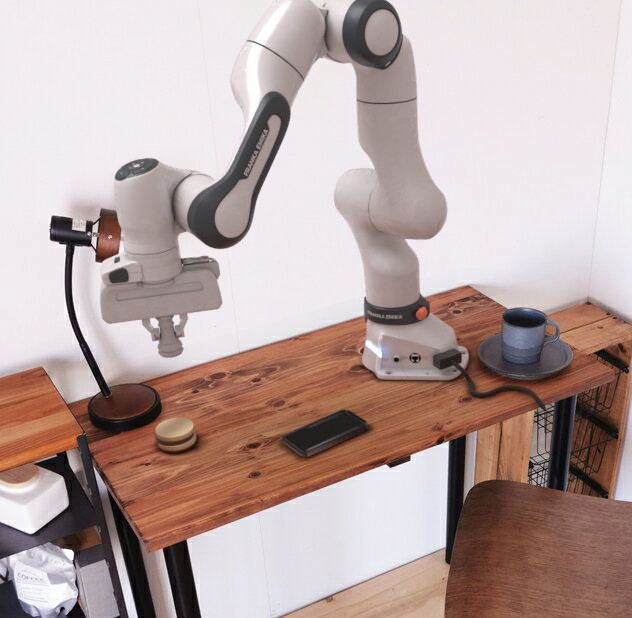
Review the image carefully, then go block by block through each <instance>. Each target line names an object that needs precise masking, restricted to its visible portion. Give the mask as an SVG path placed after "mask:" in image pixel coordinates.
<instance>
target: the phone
mask: <svg viewBox="0 0 632 618" xmlns="http://www.w3.org/2000/svg"><path fill="white" fill-rule="evenodd" d="M368 430H369V423H368V421H367V420H365V419H363V417H361V416H359V415H357V414H356V413H354V412H353V411H351V410H349V409H346V408H344V409H341V410H338V411H335V412H333V413H330V414H329V415H326V416H323V417H321V418H319V419H317V420H314V421H312V422H309V423H308V424H305V425H302V426H300V427H298V428H296V429H293V430H291V431H289V432H287V433H284V434H282V444H284V446H286V447H287V448H288V449H290V450H291V451H293V452H294V453H295V454H297V455H298V456H300V457H301V458H310V457H312V456H313V455H316V454H318V453H320V452H322V451H324V450H327V449H329V448H332V447H333V446H336V445H339V444H340V443H343V442H344V441H345V442H346V441H347V440H349V439H351V438H354V437H356V436H358V435H361V434H363V433H365V432H367V431H368Z"/></svg>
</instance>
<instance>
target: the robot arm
mask: <svg viewBox="0 0 632 618" xmlns="http://www.w3.org/2000/svg"><path fill="white" fill-rule="evenodd" d="M319 59H325V60H328V61H330V62H334V63H338V64H351V66H352V68H353V70H354V73H355V100H356V127H357V128H356V129H357V141H358V144H359V146H360V148H361V149H362V150H363V152H364V153H365V154H366V155H367V156H368V158H369V159H370V161H371V163H372V166H373V168H372V167H363V168H361V167H359V168H351V169H348V170H346V171H344V172H343V173H342V174H341V175H340V176H339V177H338V178H337V179H338V180H337V182H336V183H335V186H334V191H333V203H334V207H335V210H336V211H337V212H338V213H339V214H340V215H341V217H342V218H343V219H344V220H345V222H346V223H347V225H348V227H349V229H350V231H351V233H352V236H353V238H354V240H355V243H356V245H357V248H358V250H359V251H358V252H359V254H360V257H361V261H362V267H363V277H364V288H365V296H364V298H363V315H364V322H365V323H366V325H365V326H366V327H365V329H366V330H365V340H364V342H365V343H364V348H363V352H362V355H361V363H362V365H363V366H364V367H365V368H367V369H368V370H369V371H371V372H373V373H374V374H375V376H376V377H377V379H379V380H384V381H385V380H386V381H387V380H390V381H391V380H392V381H451V380H453V379H456V378H457V377H459V376H460V375H463V377H464V378H465V379H466V381H467V383H468V385H469V394H470V395H472V396H474V397H480V398H485V397H489V396H492V395H494V394H497V393H498V392H499V393H500V392H501V391H504V390H513V391H520V392H524V393H527V394H528V395H529V396H531V397H532V398H533V400H534V401H535V402H536V404H537V405H538V406H539V408H540V409H541V410H546V408H547V407H546V406H545V403H543V401H542V400H541V398H540V397H539V396H538V394H537V393H536V392H535V391H533V390H532V389H531V388H528V387H525V386H523V385H522V386H521V385H515V384H505V385H501V386H498V387H496V388H493V389H491V390H488V391H484V392H481V391H475V385H474V382H473V380H472V378H471V376H470V374H469V373H468V372H467V370H466V368H467V367H468V363H469V362H470V356H469V351H468V349H467V347H465V346H462V345H459V343H458V339H457V338H458V337H457V334H456V332H455V329H454V328H453V327H451V326H450V325H449V324H447V323H446V322H445V321H443V320H441V319H440V318H439V317H437V316H436V315H434V314H433V312H431V303H432V300H431V299H432V296H429V297H428V298H426V297H424V296H423V295H422V293H421V278H420V276H421V275H420V273H421V272H420V261H419V257H418V255H417V254H416V252H415V251H414V249H413V248H412V247H411V246H410V245H409V243H408V242H407V240H412V241H413V240H415V241H416V240H418V241H420V240H421V241H423V240H425V241H427V240H431V239H433V238H434V237H436V236H437V235H438V234H439V233H440V232H441V230H443V228H444V226H445V224H446V221H447V217H448V209H449V207H448V202H447V198H446V196H445V194H444V193H443V191H442V190H441V189H440V188H439V187H438V185H437V184H436V183H435V181H434V179H433V178H432V176H431V174H430V172H429V170H428V167H427V165H426V162H425V159H424V156H423V152H422V149H421V143H420V137H419V120H418V119H419V117H418V115H419V114H418V81H417V71H416V70H417V69H416V63H415V56H414V51H413V46H412V43H411V40H410V39H409V38H408V37H407V36H406V35H405V34H404V33H403V28H402V22H401V18H400V16H399V13H398V12H397V10H396V8H395V7H394V5H393V3H391V2H389V1H388V0H275V1H274V2H273V3H272V5H270V6H269V8H268V9H267V10H266V11H265V13H264V14H263V15H262V17H261V18H260V19H259V21H258V22H257V23H256V25H255V26H254V27H253V29H252V30H251V32H250V34H249V35H248V37H247V39H246V41H244V44H243V46H242V47H241V49H240V51H239V53H238V54H237V56H236V59H235V61H234V64H233V67H232V68H231V72H230V75H229V83H230V89H231V92H232V96H233V97H234V99H235V101H236V104H237V105H238V106H239V108H240V109H241V111H242V114H243V129H242V132H241V134H240V137H239V138H238V141H237V143H236V145H235V147H234V150H233V152H232V154H231V156H230V158H229V161H228V162H227V165H226V167H225V170H224V171H223V173H222V174H221V175H220V176H218V177H217V178H214V177H212V175H208V174H206V173H203V172H201V171H199V170H195V169H185V168H179V167H174V166H171V165H168V164H166V163H163V162H161V161H160V160H159V159H157V158H153V157H143V158H137V159H134V160H131V161H129V162H126V163H125V164H124V165H122V166H120V168H118V170H117V171H116V172H115V175H114V178H113V196H114V197H113V198H114V204H115V210H116V217H117V222H118V225H119V227H120V229H121V231H122V234H123V245H122V246H123V251H121V252H119V253H117V254H115V255H113V256H110V257H108V258H105V259H104V260H103V261H102V262H101V266H100V277H101V281H100V285H99V305H100V306H99V307H100V314H101V319H102V320H103V322H105V323H106V324H107V325H111V324H112V325H113V324H120V323H128V322H134V321H141V325H142V326H143V327H144V328H145V329H146V331H148V332H149V334H150V337H151V341H152V342H159V340H161V337H160V328H159V327H154V326H153V325H152V323H151V319H156V318H157V317H164V316H172V315H174V316H179V320H180V321H179V323H178V324H174V330H175V333H176V338H179V339H180V338H185V337H186V335H185V327H186V324H187V323H188V320H189V315H188V314H193V313H201V312H207V311H215V310H220V308H221V307H222V305H223V298H222V293H221V289H220V285H219V282H218V279H219V278H220V276H221V270H220V264H219V262H218V261H217V260H216V258H213V257H209V255H200V256H191V257H190V256H189V257H182V254H181V250H180V249H181V248H180V243H179V236H180V235H181V234H183V233H189V234H191V235H192V236H194V237H195V238H196V239H198V240H199V241H200V242H201V243H202V244H204V245H205V246H207V247H209V248H212V249H215V250H224V249H229V248H232V247H234V246H236V245H237V244H239V243H240V242H241V241H242V240H243V239H244V238H245V237H246V236H247V234H248V233H249V231H250V229H251V227H252V224H253V221H254V216H255V211H256V205H257V201H258V198H259V195H260V193H261V190H262V188H263V187H264V183H265V181H266V179H267V177H268V174H269V173H270V170H271V169H272V166H273V164H274V161H275V160H276V157H277V154H278V153H279V150H280V148H281V146H282V143H283V142H284V139H285V136H286V134H287V131H288V128H289V125H290V121H291V117H292V116H291V115H292V113H291V111H292V108H293V105H294V102H295V100H296V98H297V96H298V95H299V92H300V90H301V88H302V86H303V84H304V82H305V81H306V79H307V77H308V75H309V74H310V72H311V70H312V68H313V66H314V64H315V63H316V62H317V61H318V60H319Z"/></svg>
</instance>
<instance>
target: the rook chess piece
mask: <svg viewBox="0 0 632 618" xmlns="http://www.w3.org/2000/svg"><path fill="white" fill-rule="evenodd" d="M174 316H175V315H172V316H164V317H157V318H155V320H156V321H157V322H158V324H157V326H158V328H159V331H160V337H161V340H158V344H157V350H158V351H157V353H158V355H159V356H160V357H162V358H164V359H165V358H167V359H171V358H176V357H178V356H180V355H182V353H183V352H184V350H185V348H184V347H183V342H182V341H181V339H180V338H176V333H175V327H174V325H175V321H174V320H173V318H174Z"/></svg>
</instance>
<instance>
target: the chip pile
mask: <svg viewBox="0 0 632 618" xmlns="http://www.w3.org/2000/svg"><path fill="white" fill-rule="evenodd" d="M194 424H195V423H194V422H193V421H192V420H191V419H189V418H188V417H187V418H186V417H172V418H167V419H165V420H163V421H161V422H160V423H158V424H157V425H156V427H155V430H154V431H155V432H154V438H155V441H156V444H157V449H158V450H160V451H161V452H163V453H167V454H179V453H182V452H186V451H188V450H190V449H191V448H192V447H193V446H195V444H196V443H197V442H196V441H197V434H196V431H195V425H194Z"/></svg>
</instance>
